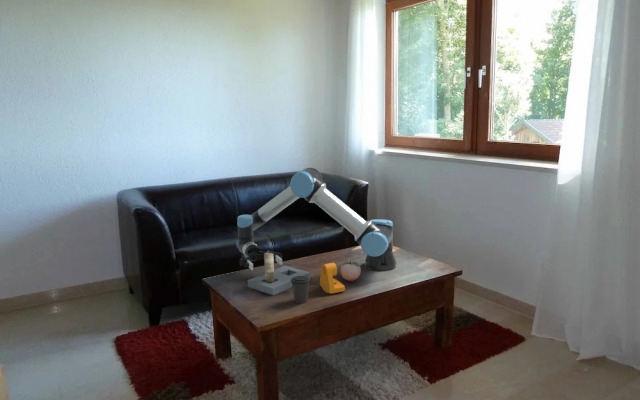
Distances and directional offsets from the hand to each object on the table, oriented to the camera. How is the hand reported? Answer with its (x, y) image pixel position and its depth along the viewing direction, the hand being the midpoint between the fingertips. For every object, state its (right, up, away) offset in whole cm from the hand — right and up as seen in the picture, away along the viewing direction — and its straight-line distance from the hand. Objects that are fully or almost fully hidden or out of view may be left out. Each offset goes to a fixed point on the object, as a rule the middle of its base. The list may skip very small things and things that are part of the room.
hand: (267, 264), depth 213 cm
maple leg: (+1, -10, +1) cm, 10 cm away
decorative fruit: (+37, -8, +4) cm, 38 cm away
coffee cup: (+16, -13, -15) cm, 25 cm away
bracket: (+29, -10, -4) cm, 31 cm away
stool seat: (+5, -9, +5) cm, 11 cm away
